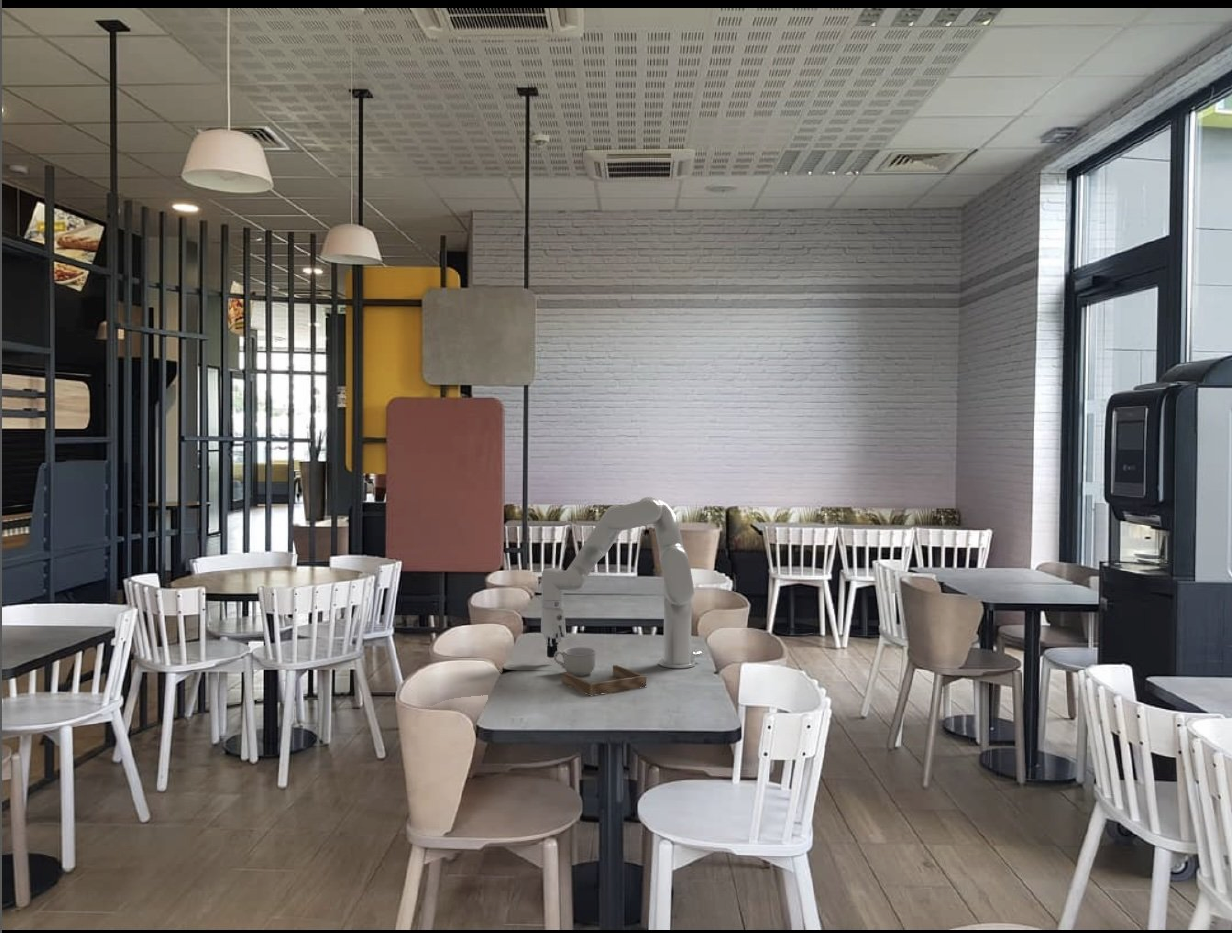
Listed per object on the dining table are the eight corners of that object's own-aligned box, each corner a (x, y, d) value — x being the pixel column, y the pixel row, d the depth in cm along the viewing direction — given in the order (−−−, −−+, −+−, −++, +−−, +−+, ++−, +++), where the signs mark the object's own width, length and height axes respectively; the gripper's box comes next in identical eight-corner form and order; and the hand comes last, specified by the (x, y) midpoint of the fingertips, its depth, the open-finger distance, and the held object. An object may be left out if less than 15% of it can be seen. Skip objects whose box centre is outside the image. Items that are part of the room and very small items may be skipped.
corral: (615, 675, 322) (616, 665, 322) (646, 687, 307) (646, 676, 307) (562, 683, 311) (562, 672, 311) (590, 696, 296) (590, 684, 296)
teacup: (599, 671, 328) (599, 647, 327) (590, 679, 317) (590, 654, 317) (560, 668, 331) (560, 645, 331) (549, 676, 321) (549, 651, 321)
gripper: (572, 606, 333) (572, 659, 333) (551, 600, 345) (551, 651, 346) (553, 608, 329) (553, 662, 329) (532, 602, 341) (532, 654, 342)
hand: (552, 656), depth 338 cm, fingers closed
